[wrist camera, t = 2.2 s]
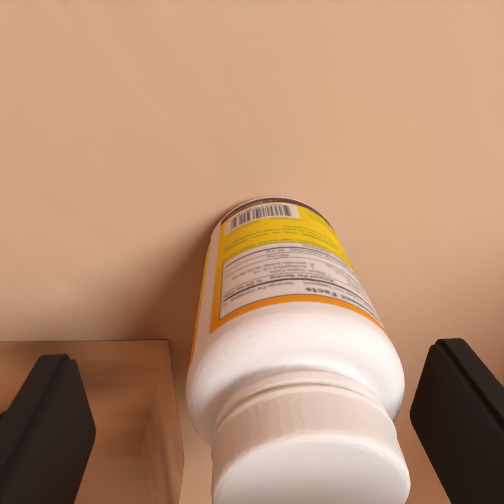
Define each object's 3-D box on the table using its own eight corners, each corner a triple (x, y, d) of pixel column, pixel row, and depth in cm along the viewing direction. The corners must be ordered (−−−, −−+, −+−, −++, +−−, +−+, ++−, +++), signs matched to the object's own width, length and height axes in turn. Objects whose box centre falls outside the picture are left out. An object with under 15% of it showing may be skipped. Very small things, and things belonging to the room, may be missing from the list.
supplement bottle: (278, 321, 18) (315, 589, 9) (182, 260, 16) (112, 520, 7) (362, 240, 16) (514, 484, 7) (263, 161, 14) (301, 354, 5)
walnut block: (168, 339, 18) (139, 456, 13) (184, 461, 23) (167, 582, 18) (-38, 342, 18) (-150, 462, 13) (22, 464, 23) (-43, 587, 18)
